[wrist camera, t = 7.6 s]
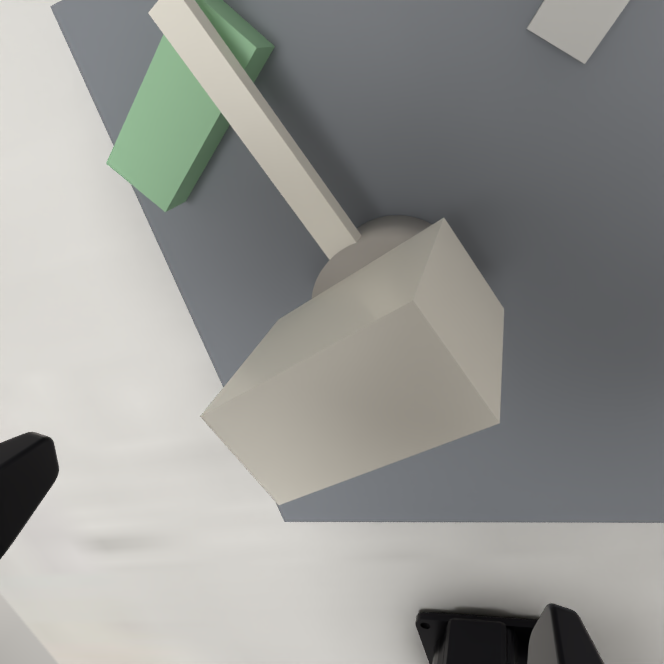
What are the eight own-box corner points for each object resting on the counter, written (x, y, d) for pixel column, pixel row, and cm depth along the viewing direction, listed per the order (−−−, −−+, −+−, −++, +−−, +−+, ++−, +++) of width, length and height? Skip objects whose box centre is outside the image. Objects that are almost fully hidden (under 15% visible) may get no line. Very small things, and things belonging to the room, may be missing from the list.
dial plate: (698, 491, 20) (722, 553, 18) (295, 498, 27) (274, 543, 24) (668, -290, 11) (707, -372, 9) (82, 7, 18) (18, 5, 16)
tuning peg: (516, 291, 17) (518, 449, 10) (365, 366, 20) (295, 524, 13) (276, -84, 14) (78, -176, 8) (141, 72, 17) (-80, 98, 11)
